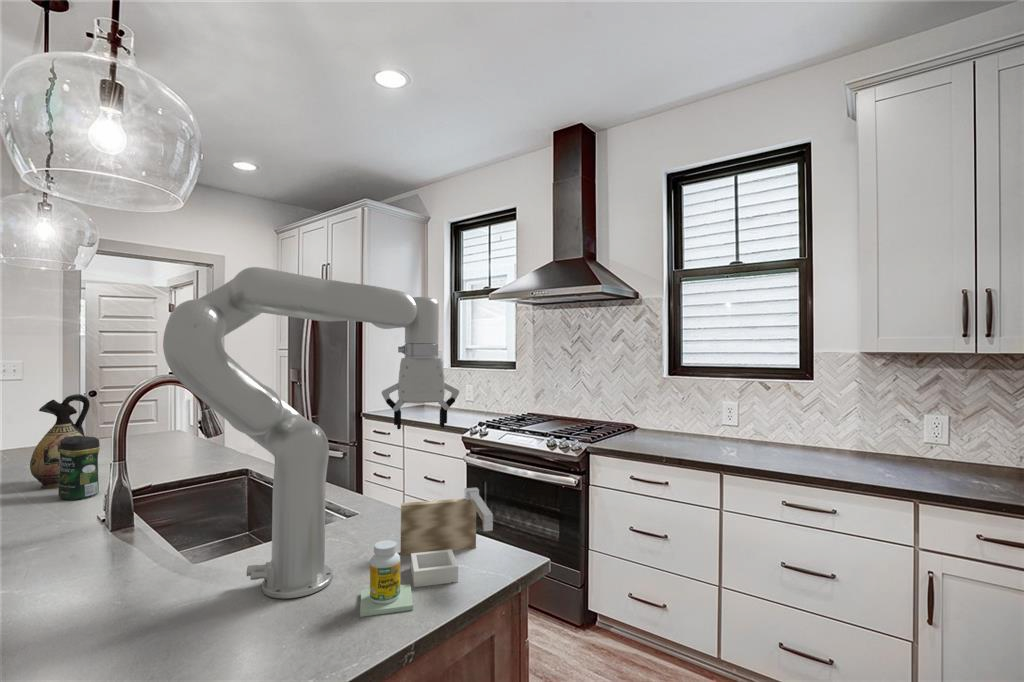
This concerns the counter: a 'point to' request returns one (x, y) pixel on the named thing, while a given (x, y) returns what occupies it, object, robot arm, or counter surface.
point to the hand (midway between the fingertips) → (420, 427)
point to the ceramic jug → (56, 440)
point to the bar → (480, 507)
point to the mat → (399, 604)
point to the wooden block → (437, 526)
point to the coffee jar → (78, 467)
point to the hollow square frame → (433, 568)
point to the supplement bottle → (385, 573)
